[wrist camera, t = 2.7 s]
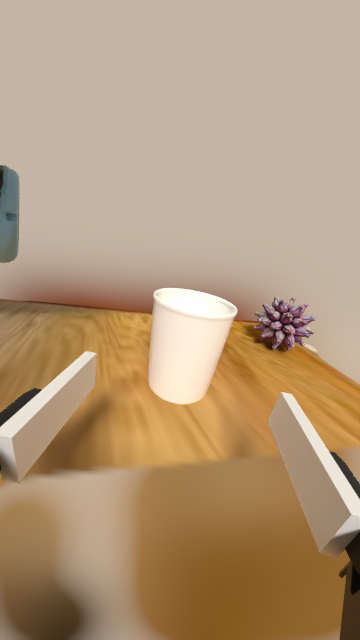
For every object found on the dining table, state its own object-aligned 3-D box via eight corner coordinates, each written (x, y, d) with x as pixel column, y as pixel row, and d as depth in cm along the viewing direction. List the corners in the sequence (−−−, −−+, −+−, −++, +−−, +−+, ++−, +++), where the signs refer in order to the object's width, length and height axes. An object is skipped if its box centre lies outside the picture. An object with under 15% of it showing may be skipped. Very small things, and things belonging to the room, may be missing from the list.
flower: (237, 341, 44) (254, 289, 39) (259, 331, 52) (275, 288, 48) (291, 368, 36) (318, 309, 32) (307, 352, 45) (330, 303, 41)
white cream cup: (146, 357, 31) (157, 283, 27) (206, 365, 32) (225, 295, 28) (135, 405, 22) (148, 305, 18) (219, 415, 23) (251, 321, 19)
